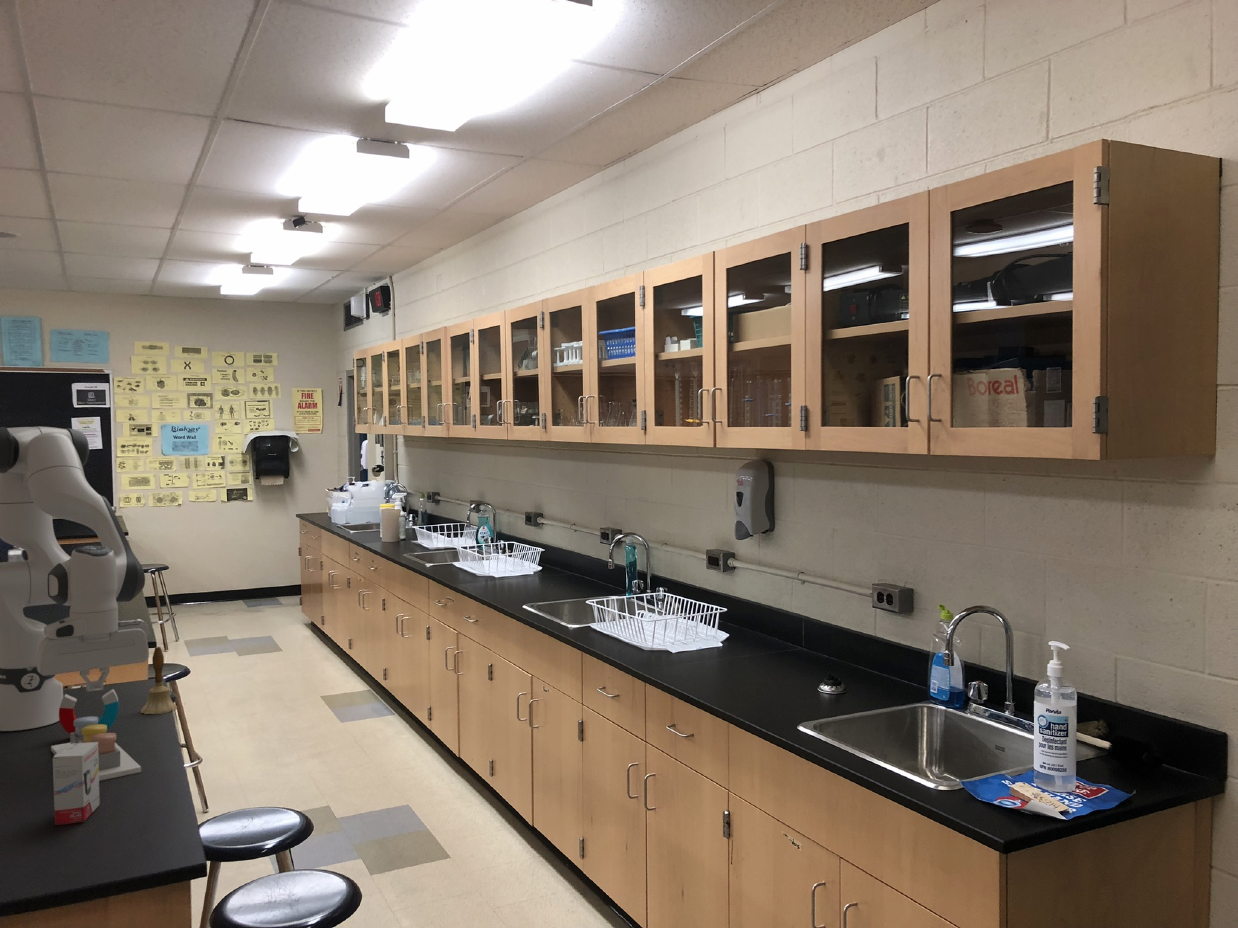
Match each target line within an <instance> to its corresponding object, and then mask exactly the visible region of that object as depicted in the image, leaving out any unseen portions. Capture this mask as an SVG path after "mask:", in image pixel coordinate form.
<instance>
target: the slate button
mask: <svg viewBox="0 0 1238 928" xmlns="http://www.w3.org/2000/svg"><path fill="white" fill-rule="evenodd" d="M98 719H99V717H98V716H83V717H77V719H75V720H74V727H75V735H76V736H77V737H82V736H83V735H82V728H84V727H86V726H90V725H97V724H98Z"/></svg>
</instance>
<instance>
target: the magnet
mask: <svg viewBox="0 0 1238 928" xmlns="http://www.w3.org/2000/svg"><path fill="white" fill-rule="evenodd" d="M101 700H102V703H103V705H104V706H103V707H104V711H103V714H102V715H101V717H99V718H98V724H104V725H107V731H108V730H109V729H110V728H111V727H112V726H113V725H114V723H115V721H116V720H117V717H118V715H119V709H120V707H119V706H120V704H119V697H118V695H117V692H116V691H115V689H114V688H113V689H112V688H111V689H110V690H109V691H108V692H106V693H105V694H103V695H102V696H101ZM77 701H78V699H77V698H76V697H74V696H71V695H69V694H67V693H65V694H63V699H62V702H61V705H60V708H59V723H60V725H61V727H62V728H63V729H64V731H65V732H66V733H68V734H69V735H70V733H73V732H75V727H74V720H75V719H78V717H76V714H75V705H76V704H77ZM98 724H97V725H98Z"/></svg>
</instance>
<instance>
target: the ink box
mask: <svg viewBox="0 0 1238 928" xmlns="http://www.w3.org/2000/svg"><path fill="white" fill-rule="evenodd" d="M52 774H53V775H52V779H53V780H52V781H53V783H52V784H53V807H54V808H53V809H54V810H53V811H54V812H53V814H54V825H56V826H61V825H69V824H75V823H84V822H85V821H86V820H87V819H88V818H90V816H91V815H92V814H93V813H94V811H95V810H96V809H97V808H98V807H99V806H100V804H101V803H100V781H99V758H98V742H90V743H74V744H69V745H68V746H67V747H65V748H64V749H63V750H61V751H60V752H59V753H57V754H56V755H53V758H52Z"/></svg>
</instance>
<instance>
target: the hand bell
mask: <svg viewBox="0 0 1238 928" xmlns="http://www.w3.org/2000/svg"><path fill="white" fill-rule="evenodd" d="M151 658H152V667H153V670H154V687H152V688H151V689H149V690H148V695H147V700H146V702H145V705H144V706H143V707H142V708H141V710H140V711H141V712H140V714H142V713H144V714H143V715H146V714H156V715H162V714H167V713H172V712H174V711H176V710H177V709H178V706H177V705H176V704H175V703H174V702H173V700H172V698H171V694H170V689H169V688H168V687H167V686H164V682H163V674H162V673H163V668H164V663H165V656H164V654H163V651H162V647H160V646H156V647H154V651H153V653H152V657H151ZM171 709H172V712H171Z"/></svg>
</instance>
